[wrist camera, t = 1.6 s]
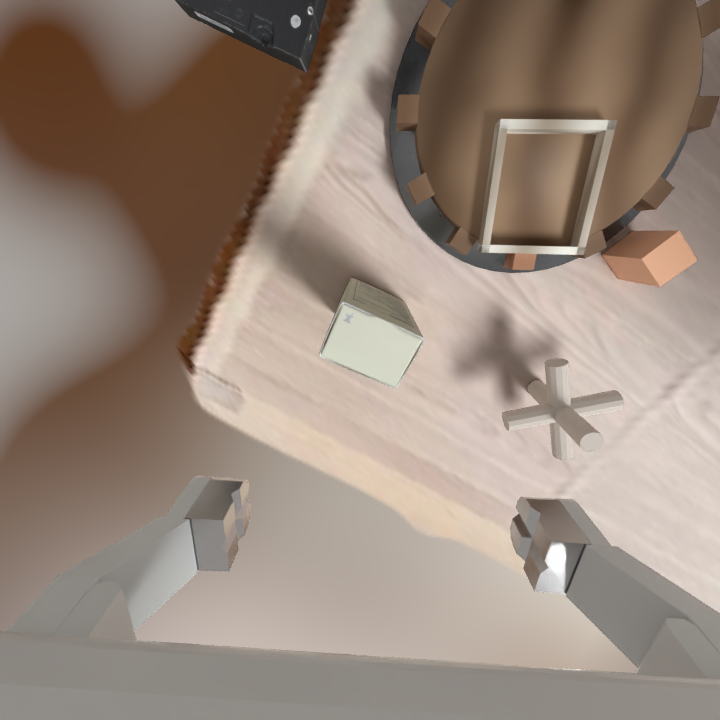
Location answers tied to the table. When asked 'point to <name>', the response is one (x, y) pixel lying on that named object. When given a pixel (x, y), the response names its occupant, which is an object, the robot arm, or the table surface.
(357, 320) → the skincare box
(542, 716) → the robot arm
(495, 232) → the dial
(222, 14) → the disk drive
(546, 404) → the pipe connector
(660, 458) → the table surface
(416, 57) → the dial base
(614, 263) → the orange rectangular block
